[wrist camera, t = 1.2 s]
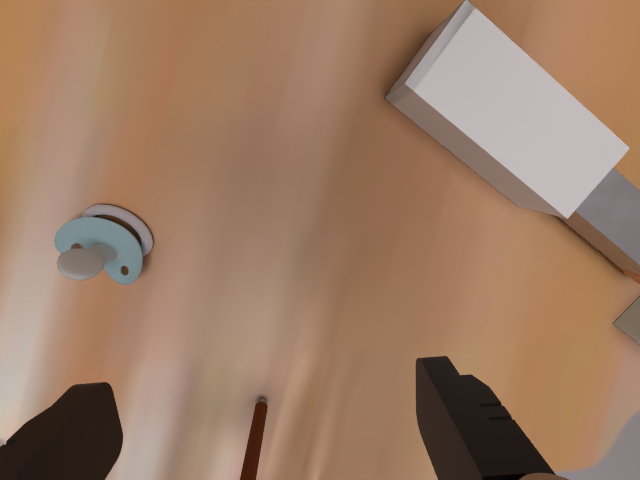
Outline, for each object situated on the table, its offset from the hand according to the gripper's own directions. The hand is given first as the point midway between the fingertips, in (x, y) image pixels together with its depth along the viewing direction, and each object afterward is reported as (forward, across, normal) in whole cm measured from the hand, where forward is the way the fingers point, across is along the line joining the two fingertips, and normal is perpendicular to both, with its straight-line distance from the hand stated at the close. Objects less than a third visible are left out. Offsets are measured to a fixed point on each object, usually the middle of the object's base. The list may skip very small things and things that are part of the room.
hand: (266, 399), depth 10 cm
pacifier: (+24, +16, 0) cm, 29 cm away
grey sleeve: (+24, -16, -7) cm, 30 cm away
